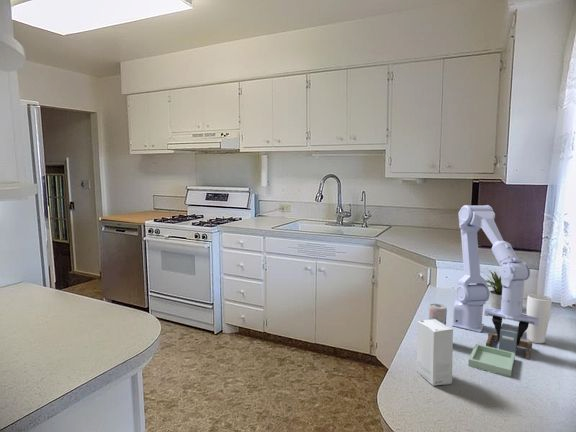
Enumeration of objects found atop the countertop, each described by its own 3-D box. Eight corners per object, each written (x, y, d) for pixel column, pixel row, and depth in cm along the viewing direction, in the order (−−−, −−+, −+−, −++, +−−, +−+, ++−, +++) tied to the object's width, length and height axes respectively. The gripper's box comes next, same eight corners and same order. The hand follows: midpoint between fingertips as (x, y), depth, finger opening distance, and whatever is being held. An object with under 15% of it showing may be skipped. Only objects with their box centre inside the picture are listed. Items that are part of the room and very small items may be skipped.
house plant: (481, 298, 172) (484, 262, 170) (517, 305, 164) (520, 267, 162) (475, 307, 161) (478, 268, 159) (513, 314, 153) (516, 274, 151)
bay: (484, 348, 122) (484, 342, 122) (488, 338, 130) (488, 332, 129) (530, 359, 115) (530, 353, 115) (531, 348, 123) (532, 342, 122)
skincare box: (452, 384, 101) (456, 329, 99) (431, 386, 99) (435, 331, 98) (433, 368, 109) (436, 317, 107) (414, 370, 107) (417, 319, 106)
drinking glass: (551, 346, 125) (555, 301, 123) (528, 343, 126) (532, 299, 124) (542, 337, 131) (546, 294, 130) (520, 335, 132) (524, 293, 131)
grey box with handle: (498, 352, 120) (500, 330, 119) (501, 343, 126) (502, 322, 125) (515, 356, 117) (516, 334, 116) (517, 347, 123) (518, 326, 123)
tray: (468, 365, 111) (468, 359, 110) (475, 349, 121) (476, 343, 121) (510, 377, 105) (511, 370, 104) (514, 359, 115) (515, 353, 115)
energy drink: (445, 340, 128) (447, 305, 126) (444, 346, 123) (446, 310, 122) (428, 337, 130) (430, 302, 129) (426, 343, 125) (428, 307, 124)
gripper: (484, 298, 121) (481, 340, 122) (539, 308, 113) (535, 352, 114) (487, 293, 127) (484, 333, 128) (540, 302, 118) (536, 344, 120)
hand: (508, 341), depth 121 cm, fingers closed on grey box with handle, 4 cm apart
